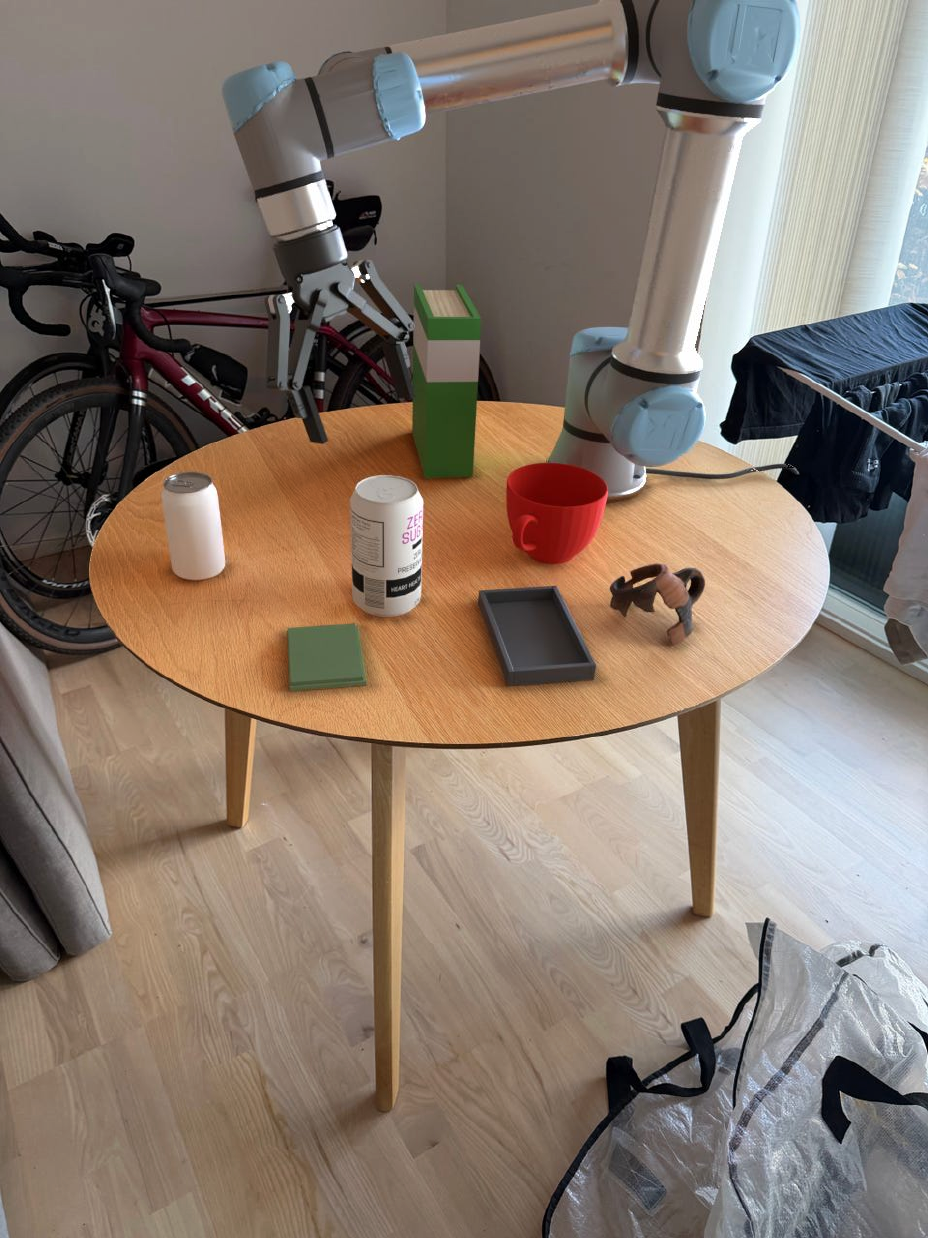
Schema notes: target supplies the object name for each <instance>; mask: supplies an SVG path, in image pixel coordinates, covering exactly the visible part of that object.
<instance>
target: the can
mask: <svg viewBox="0 0 928 1238" xmlns="http://www.w3.org/2000/svg"><path fill="white" fill-rule="evenodd" d="M162 486H163V487H162V491H161V506H162V513H163V518H164V519H163V520H164V525H165V532H166V538H167V545H168V551H169V557H170V558H169V559H170V562H171V568H172V571H173V573H174V574H175V575H176V576H177V577H178V578H179V579H180V578H181V579H182V580H185V581H189V582H202V581H206V580H211V579H213V578H216V577H217V576H219V575H220V574H221V573H222V572H223V571H224V570H225V567H226V555H225V547H224V537H223V529H222V528H223V527H222V519H221V512H220V503H219V496H218V495H219V494H218V491H217V488H216V486H215V485H214V484H213V478H212V477H211V476H210V475H209V474H207V473H205V472H200V471H182V472H177V473H174V474H170V475H169V476H168V477H166V478H165V479H163V481H162Z"/></svg>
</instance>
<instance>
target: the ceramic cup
mask: <svg viewBox="0 0 928 1238" xmlns="http://www.w3.org/2000/svg"><path fill="white" fill-rule="evenodd" d="M505 489H506V491H505V492H506V493H505V494H506V495H505V498H506V499H505V500H506V501H505V503H506V504H505V505H506V516H507V521H508V524H509V528H510V532H511V540H512V544H513V545H514V547H515V548H516V549H518V550H520V551H523V552H525V554H526V555H527V556H528V557H529V558H530V559H532V560H534V561H536V562H539V563H541V564H548V565H560V564H564V563H567V562H568V563H569V562H570V561H572V560H573V559H574V557H576V556H577V555H579V554H580V553H582V551H584V550H585V549H586V548H587V547H588V546H589V544H590V543H591V542H592V540H593V539H594V538H595V536H596V534H597V533H598V530H599V528H600V525H601V522H602V520H603V516H604V512H605V509H606V504H607V502H606V501H607V495H608V488H607V484H606V483H605V481H604V480H603V479H602V478H601V477H600V476H598V475H597V474H595V473H593V472H591V471H589V470H587V469H584V468H581V467H578V466H573V465H568V464H562V463H546V462H537V463H530V464H526V465H523V466H521V467H518V468H516V469H514V470H513V471H512V472H510V473H509V474H508V476H507V478H506V488H505Z"/></svg>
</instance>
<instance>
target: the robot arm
mask: <svg viewBox="0 0 928 1238" xmlns="http://www.w3.org/2000/svg"><path fill="white" fill-rule="evenodd" d="M800 39H801V18H800V11H799V7H798V3H797V1H796V0H599V1H598V3H596V4H592V5H585V6H581V7H580V6H579V7H575V8H571V9H565V10H561V11H556V12H551V13H546V14H541V15H536V16H531V17H525V18H520V19H516V20H515V19H514V20H511V21H510V20H509V21H506V22H501V23H495V24H490V25H486V26H485V25H484V26H481V27H476V28H471V29H466V30H461V31H455V32H450V33H445V34H440V35H434V36H430V37H425V38H419V39H414V40H410V41H405V42H400V43H399V42H398V43H394V44H390V45H387V46H381V47H376V48H370V49H365V50H360V51H356V52H355V51H350V50H344V51H340V52H337V53H332V54H331V55H330V56H329V57H327V59H325V60H324V61H323V62H322V64H321V65H320V67H319V68H318V71H317V73H316V75H314V76H307V77H305V78H304V77H302V78H298V79H297V75H296V74H295V73H294V72H293V69H292V67H291V65H290V64H289V63H288V62H286V61H285V60H278V61H277V60H276V61H272V62H269V63H265V64H261V65H256V66H253V67H250V68H247V69H244V70H241V71H238V72H236V73H234V74H231V75H229V76H228V77H227V78H226V79H225V80H224V81H223V84H222V87H221V95H222V99H223V101H224V105H225V109H226V112H227V115H228V116H227V117H228V119H229V122H230V123H229V124H230V126H231V130H232V134H233V137H234V140H235V142H236V144H237V148H238V150H239V153H240V156H241V159H242V161H243V164H244V167H245V171H246V173H247V176H248V179H249V181H250V184H251V188H252V190H253V193H254V195H255V198H256V201H257V203H258V208H259V210H260V213H261V216H262V219H263V222H264V225H265V229H266V231H267V234H268V236H269V237H270V238H273V239H275V240H276V241H275V242H274V243H273V246H272V250H273V253H274V256H275V259H276V262H277V265H278V268H279V270H280V271H279V272H280V273H281V276H282V277H283V279H284V280H285V282H286V286H287V289H286V290H287V291H286V292H285V293H281V294H280V293H279V294H269V295H266V296H265V297H264V305H265V310H266V313H267V317H268V325H267V327H268V328H267V345H266V347H267V349H266V368H265V369H266V371H265V387H266V389H268V391H269V390H270V391H283V392H285V394H286V397H287V399H288V402H289V404H290V408H291V410H292V413H293V415H294V417H295V418H296V419H301V420H302V423H303V426H304V428H305V432H306V435H307V437H308V440H309V443H314V444H323V445H324V444H326V443H328V442H329V439H328V435H327V433H326V430H325V426H324V423H323V421H322V418H321V416H320V413H319V409H318V406H317V404H316V401H315V399H314V395H313V392H312V390H311V386H310V385H303V384H304V380H305V376H306V371H307V368H308V364H309V361H310V357H311V353H312V349H313V345H314V343H315V342H314V341H315V337H316V334H317V331H319V329H320V328H321V325H322V323H328V322H330V321H332V320H333V319H335V318H336V317H337V316H344V315H346V314H350V315H352V316H353V317H354V318H356V320H358V321H359V322H361V323H362V324H363V325H365V326H366V327H368V328H369V329H370V330H371V331H373V332H374V333H375V334H377V335H378V336H379V337H380V338H382V339H383V340H385V341H386V342H388V343H385V344H383V345H381V349H382V353H383V355H384V359H385V362H386V365H387V369H388V371H389V372H388V373H389V376H390V379H391V382H392V385H393V389H394V393H395V396H396V399H407V400H411V399H412V400H413V398H414V397H415V393H414V390H413V382H412V380H411V376H410V373H409V368H410V367H411V361H410V356H409V354H408V350H407V347H406V343H407V342H408V341H409V339H410V334H409V333H410V332H414V327H415V325H414V320H412V318H411V317H410V315H409V314H408V313H407V312H406V310H405V309H404V308H403V307H402V304H400V303H399V301H398V300H397V298H395V296H394V295H393V294H392V292H391V291H390V290H389V289H388V287H387V286H386V284H385V283H384V282H383V280H381V278H380V277H379V274H378V271H377V269H376V265H375V264H374V262H373V260H372V259H362V260H355V261H354V262H353V264H352V266H350V265H349V264H348V259H347V258H348V251H347V248H346V245H345V241H344V238H343V234H342V230H341V228H340V226H338V225H337V224H333V220H335V219H336V216H337V212H336V210H335V207H334V204H333V201H332V198H331V195H330V191H329V188H328V185H327V181H326V179H325V176H324V171H323V170H322V167H321V165H322V164H321V162H322V161H324V160H330V159H333V158H335V157H338V156H340V155H344V154H347V153H351V152H354V151H358V150H362V149H366V148H369V147H373V146H377V145H381V144H383V143H387V142H390V141H394V142H397V141H399V140H400V139H401V138H404V137H405V136H408V135H411V134H413V133H414V134H415V133H416V132H419V131H420V130H421V129H422V128H424V125H425V123H426V116H428V115H433V114H437V113H443V112H449V111H452V110H458V109H462V108H468V107H473V106H477V105H482V104H488V103H492V102H497V101H503V100H507V99H512V98H517V97H523V96H527V95H531V94H537V93H543V92H547V91H552V90H556V89H557V90H558V89H563V88H566V87H567V88H568V87H573V86H577V85H582V84H588V83H592V82H596V81H603V80H604V81H605V82H606V83H607V84H608V85H609V86H611V87H613V88H616V87H620V86H625V85H632V84H657V85H659V86H658V92H657V97H656V98H657V99H656V104H655V110H656V112H657V113H658V115H659V117H660V118H661V119H662V121H663V123H664V126H665V130H664V133H663V134H664V135H663V140H662V145H661V151H660V156H659V160H658V161H659V162H658V166H657V172H656V177H655V183H654V187H653V188H654V189H653V193H652V194H653V195H652V198H651V204H650V208H649V209H650V210H649V215H648V219H647V225H646V231H645V236H644V242H643V247H642V253H641V259H640V263H639V269H638V274H637V278H636V279H637V280H636V285H635V290H634V295H633V300H632V301H633V302H632V307H631V311H630V316H629V321H628V327H623V326H622V327H620V326H595V327H587V328H584V329H581V330H579V331H578V332H576V334H574V337H573V338H572V344H571V349H570V352H569V365H568V375H567V381H566V392H565V401H564V402H565V403H564V410H563V421H562V427H561V431H560V434H559V435H558V438H557V440H556V442H555V444H554V447H553V448H552V451H551V452H550V455H549V457H548V458H547V457H545V463H562V464H568V465H573V466H578V467H581V468H584V469H587V470H589V471H591V472H593V473H595V474H597V475H598V476H600V477H601V478H602V479H603V480H604V481H605V483H606V484H607V488H608V495H607V501H606V503H615V502H616V503H617V502H622V501H627V500H630V499H633V498H635V497H637V496H639V495H640V494H641V493H643V491H644V488H645V486H646V479H647V474H650V475H661V476H670V477H681V478H690V479H691V478H693V479H703V480H727V479H734V478H738V477H742V476H744V475H748V474H751V473H757V472H756V470H758V471H759V472H766V471H772V470H778V469H779V470H781V469H782V470H787V471H789V472H791V473H792V474H793V475H800V473H799V471H798V470H797V468H796V467H794V468H787V467H788V465H789V464H788V465H786V464H787V463H772V464H765V465H760V466H752V467H753V468H755V469H756V470H754V469H753V468H752V467H747V468H744V469H740V470H737V471H734V472H729V473H701V472H693V471H692V472H690V471H681V470H670V469H661V468H658V467H663V466H665V465H669V464H672V463H674V462H675V461H678V460H679V458H680V457H682V456H683V455H686V454H687V453H688V452H690V450H692V448H694V446H695V445H696V444H697V442H698V441H699V439H700V438H701V436H702V434H703V431H704V428H705V424H706V409H705V406H704V403H703V401H702V398H701V397H700V395H699V394H698V393H697V391H698V386H699V383H700V379H701V373H702V371H703V364H704V363H703V359H702V358H701V357H700V355H699V354H698V353H697V351H696V348H695V346H696V345H695V344H696V341H697V336H698V332H699V329H700V323H701V319H702V315H703V310H704V305H705V301H706V298H707V294H708V289H709V285H710V279H711V277H712V271H713V267H714V263H715V258H716V253H717V249H718V245H719V241H720V237H721V232H722V228H723V223H724V218H725V215H726V210H727V207H728V206H727V205H728V201H729V197H730V193H731V189H732V188H731V187H732V184H733V180H734V175H735V172H736V171H735V170H736V166H737V162H738V158H739V153H740V149H741V145H742V140H743V137H744V136H745V135H746V133H747V132H749V131H750V130H751V129H753V127H755V126H756V125H757V124H759V123H760V122H761V120H762V115H763V112H764V107H765V104H766V99H767V96H768V94H770V93H772V91H773V92H774V90H775V88H776V87H777V86H778V84H779V83H780V82H782V81H783V80H784V79H785V77H786V76H787V75H788V73H789V72H790V70H791V68H792V66H793V64H794V61H795V59H796V56H797V54H798V53H797V52H798V50H799V49H798V48H799V44H800ZM355 283H358V284H359V285H360V287H361V288H362V290H363V291H364V292H365V293H366V295H367V297H369V298H370V300H371V301H372V302H373V304H374V305H375V306H376V307H377V309H378V310H379V311H380V312H381V313H380V312H379V311H377V309H375V308H373V307H372V306H371V305H369V304H368V303H367V301H366V299H365V298H363V296H361V295H360V294H358V293H357V292H356V291H354V287H355ZM292 306H293V308H295V309H296V310H297V311H296V314H295V318H294V321H293V327H294V330H293V335H292V339H291V343H290V329H291V318H290V317H291V316H290V313H291V312H292V311H293V308H292ZM790 466H791V465H790ZM790 466H789V467H790ZM656 467H657V468H656ZM784 467H785V468H784ZM751 470H753V471H751Z"/></svg>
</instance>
